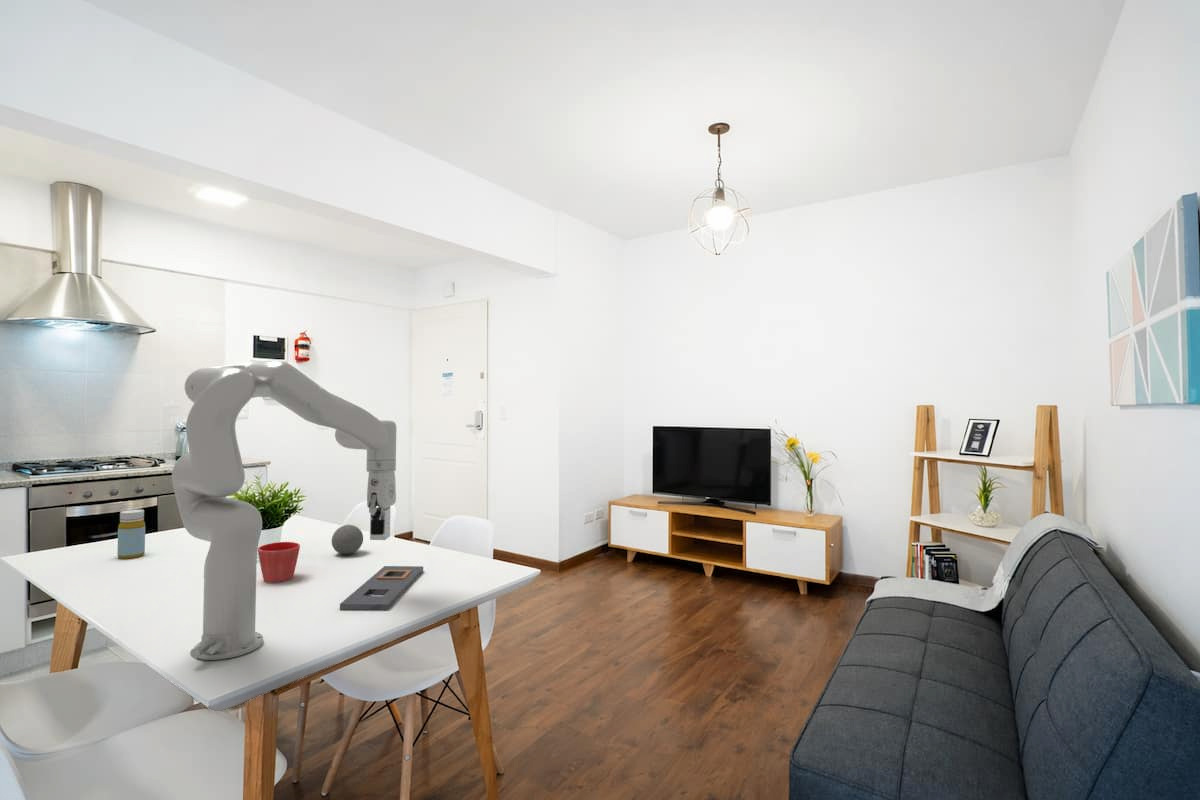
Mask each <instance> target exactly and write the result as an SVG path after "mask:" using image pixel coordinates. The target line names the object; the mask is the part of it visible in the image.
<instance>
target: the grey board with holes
mask: <svg viewBox="0 0 1200 800" xmlns="http://www.w3.org/2000/svg"><path fill="white" fill-rule="evenodd" d="M423 572H424V566H423V565H422V566H421V565H420V566H418V565H417V566H416V565H415V566H414V565H413V566H411V565H408V566H407V565H404V566H403V565H384V566H383V567H382V568H381V569H380V570H378V571H377V572H376V573H375V574H374V575H373V576H371V577H369V579H367V580H366V581H365V582H364V583H363V584H362V585H360V587H358V588H357V589H355V591H354V592H352V593H351V594H350V595H349V596H347V597H346V598H345V599H344V600H343V601H342V602H340V603H339V611H388V610H389V609H390V608H392V606H393V605H394V604H395V603H396V602H397V600H399V599H400V597H401V596H402V595H403V594H404V593H405V592H406V591H407V590H408V589H409V588H410V586H411V585H412V584H413V583H414V582H415V581H416V580H417V579H418V578H419V576H420V575H421V574H422V573H423ZM369 594H374V595H369Z"/></svg>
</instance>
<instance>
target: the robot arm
mask: <svg viewBox="0 0 1200 800" xmlns="http://www.w3.org/2000/svg"><path fill="white" fill-rule="evenodd" d="M184 392H185V395H186V396H187V397H188V399H189V400H190V401H191V402H192V403H193V404H192V406H191V408H190V410H189V412H188V415H187V419H186V422H185V434H186V439H187V445H188V451H187V452H185V453H184V454H182V455H181V456H180V457H179V458H178V459H177V460H176V461H175V464H174V465H173V468H172V472H171V482H172V483H171V484H172V488H173V491H174V496H175V499H176V500H175V501H176V504H177V507H178V511H179V515H180V518H181V522H182V524H183V527H184V528H185V530H186V532H187V533H188V534H189V535H190V536H192V537H194V538H196V539H199V540H201V541H205V542H210V543H209V544H210V545H209V548H208V551H207V554H206V556H205V557H206V558H205V560H204V566H203V612H202V618H203V619H202V620H203V621H202V635H201V640H200V642H198V643H197V644H196V645H195V646H194V647H193V648H192V649H191V650H190V652H189V654H190V657H191V658H193V659H199V660H204V661H219V660H226V659H227V658H228V659H232V658H236V657H240V656H243V655H246V654H250V652H251V653H252V652H254V651H255V650H257V649H259V648H260V647H261V646H262V645H263V643H264V635H263V634H262V633H259V632H256V613H257V611H256V609H257V608H256V605H257V563H258V562H257V561H258V560H257V559H258V548H259V544H260V538H261V535H262V534H261V533H262V531H263V530H262V528H263V518H262V515H261V513H260V511H259V509H257V507H256V506H255V505H254V504H251V503H249V502H248V501H244V500H240V499H234V498H227V497H229V496H232V495H234V494H236V493H238V492H239V491H241V489H242V488H243V486H244V483H245V480H246V479H245V478H246V477H245V475H246V474H245V468H244V465H243V459H242V455H241V451H240V447H239V443H238V437H237V432H236V422H237V420H238V417H239V414H240V412H241V411H242V409H243V408H244V407H245V406H246V405H247V404H248V403H249V402H250V401H251V399H254V398H271V399H273V400H274V401H276V402H277V403H279V404H280V405H282V406H283V407H285V408H287V409H288V410H290V412H292V413H294V414H296V415H297V416H299V417H300V418H301V419H303V420H305V421H307V422H309V423H312V424H314V425H317V426H322V427H327V428H331V429H333V430H335V432H334V437H335V440H336V442H337V444H339V445H340V446H341V447H343V448H346V449H350V450H363V451H366V471H365V472H366V473H367V472H368V475H367V477H368V478H367V487H366V489H367V490H366V492H367V493H366V506H367V508H368V513H369V514H370V515H371V534H372V535H382V534H383V526H384V520H382V516H383V509H386V508H390V509H391V507H392V506H394V504H396V502H397V495H396V494H397V493H396V492H397V491H396V490H397V489H396V487H397V486H396V473H395V472H396V471H397V469H396V468H397V425H396V423H395V422H394V421H392V420H379V419H378V418H377V417H375V416H374V415H373V414H372V413H370V412H369V411H367V410H366V409H364V408H363V407H361V406H358V405H356V404H355V403H352V402H350V401H348V400H346V399H344V398H342V397H340V396H338V395H335V394H333V393H331V392H329V391H328V390H326V389H325V388H323V387H322V386H320V384H318V383H316V382H315V381H314V380H312V379H311V378H309V377H308V376H307V375H306V374H305V373H303V372H302V371H300V370H299V369H298V368H296V367H295V366H293V365H292V364H290V363H288V362H286V361H282V360H260V361H259V360H258V361H256V360H255V361H250V362H241V363H238V364H237V363H236V364H227V365H219V366H209V367H203V368H202V367H201V368H198V369H196V370H195V371H193V372H191V373H190V374H189V375H188V376H187V378H186V380H185V382H184ZM376 510H380V511H379V512H378V511H376Z"/></svg>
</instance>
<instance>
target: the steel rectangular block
mask: <svg viewBox="0 0 1200 800" xmlns="http://www.w3.org/2000/svg"><path fill="white" fill-rule="evenodd" d="M376 511H378V512H379V511H380V510H376ZM369 519H370V521H369V523H370V526H369V528H370V529H369V540H370V541H385V540H388V539H389V538H390V537H391V507H390V508H386V509H383V516H382V520H384V526H383V534H382V535H372V534H371V515H370V518H369Z"/></svg>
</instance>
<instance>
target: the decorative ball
mask: <svg viewBox="0 0 1200 800" xmlns="http://www.w3.org/2000/svg"><path fill="white" fill-rule="evenodd" d="M363 543H364V535H363V532H362V530H361V529H360V528H359V527H357V526H356V525H353V524H345V525H342V526H340V527H339V528H337V529H336V530H335V531H334V532H333V534H332V537H331V545H332V548H333V549H334V551H335V552H336V553H338V554H340V555H345V556H347V555H352V554H354V553H356V552H357V551H359V549H360V548H361V547H362V545H363Z"/></svg>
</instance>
